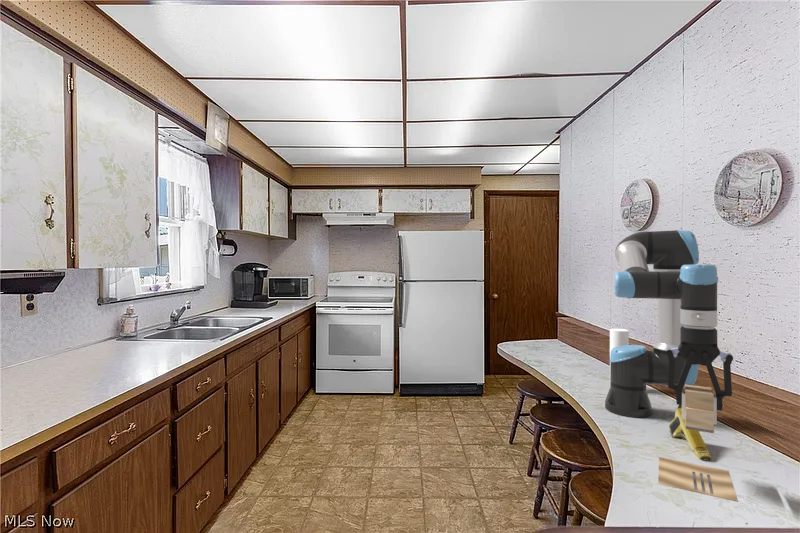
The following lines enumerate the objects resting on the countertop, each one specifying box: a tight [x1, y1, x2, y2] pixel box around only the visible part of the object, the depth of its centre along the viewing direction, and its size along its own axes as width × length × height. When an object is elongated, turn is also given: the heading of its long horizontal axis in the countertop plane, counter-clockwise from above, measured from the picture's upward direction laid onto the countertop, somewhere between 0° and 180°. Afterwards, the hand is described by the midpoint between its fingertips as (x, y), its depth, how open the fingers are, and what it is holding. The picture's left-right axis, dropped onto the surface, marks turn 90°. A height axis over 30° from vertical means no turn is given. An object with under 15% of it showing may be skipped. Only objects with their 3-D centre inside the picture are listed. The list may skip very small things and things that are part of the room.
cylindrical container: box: [609, 328, 630, 354], centre depth 181 cm, size 7×7×25 cm
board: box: [657, 456, 739, 503], centre depth 105 cm, size 16×15×2 cm
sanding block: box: [684, 385, 715, 434], centre depth 106 cm, size 8×6×9 cm
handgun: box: [668, 405, 712, 462], centre depth 124 cm, size 2×19×12 cm
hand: (698, 420), depth 106 cm, fingers closed on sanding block, 5 cm apart
